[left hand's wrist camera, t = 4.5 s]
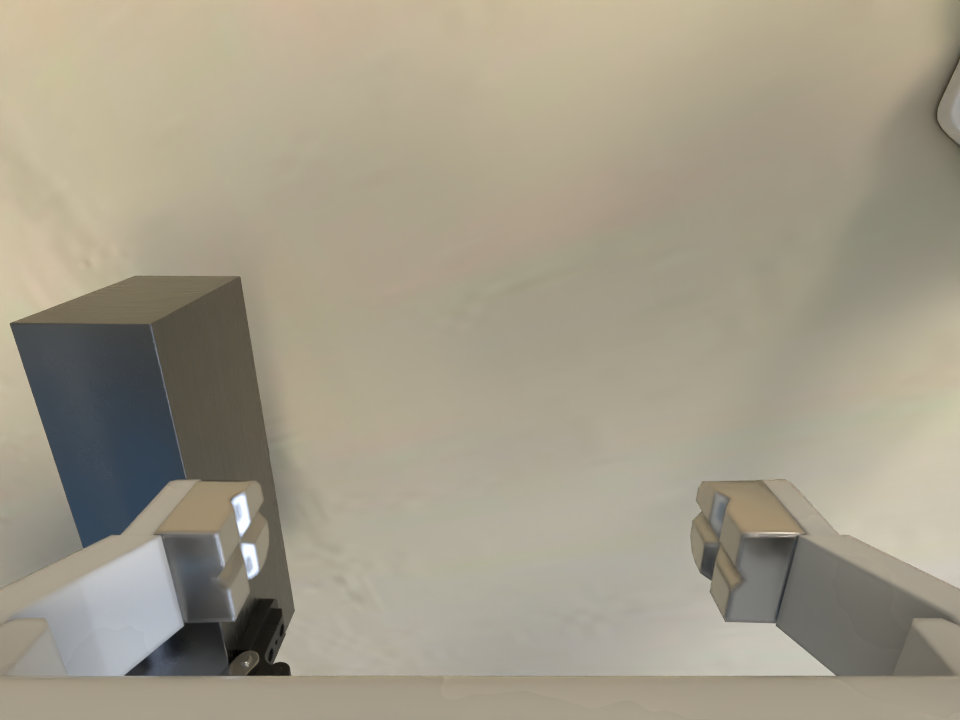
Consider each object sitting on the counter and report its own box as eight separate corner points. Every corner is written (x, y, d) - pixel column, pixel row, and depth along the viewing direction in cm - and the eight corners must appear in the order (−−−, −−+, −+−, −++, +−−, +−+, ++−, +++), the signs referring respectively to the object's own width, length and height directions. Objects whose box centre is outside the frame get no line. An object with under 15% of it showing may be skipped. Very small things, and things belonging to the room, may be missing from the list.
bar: (135, 275, 29) (8, 323, 21) (240, 276, 28) (150, 324, 21) (212, 608, 37) (141, 726, 29) (294, 610, 37) (243, 729, 29)
